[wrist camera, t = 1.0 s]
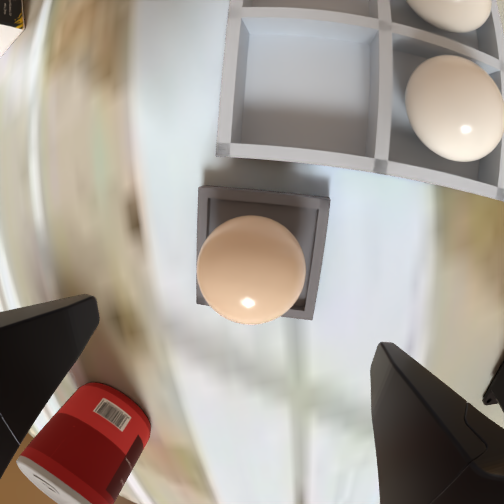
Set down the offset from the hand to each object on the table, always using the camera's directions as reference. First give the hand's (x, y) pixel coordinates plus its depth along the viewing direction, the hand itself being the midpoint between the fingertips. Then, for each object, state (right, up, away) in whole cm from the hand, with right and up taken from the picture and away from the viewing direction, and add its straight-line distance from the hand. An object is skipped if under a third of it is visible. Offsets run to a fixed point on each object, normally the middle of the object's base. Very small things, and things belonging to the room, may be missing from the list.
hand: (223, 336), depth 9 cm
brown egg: (+1, +2, +5) cm, 5 cm away
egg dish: (+1, +3, +8) cm, 8 cm away
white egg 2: (+10, +9, +1) cm, 13 cm away
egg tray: (+7, +16, +2) cm, 18 cm away
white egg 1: (+10, +15, -1) cm, 18 cm away
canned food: (-12, -12, +15) cm, 22 cm away
